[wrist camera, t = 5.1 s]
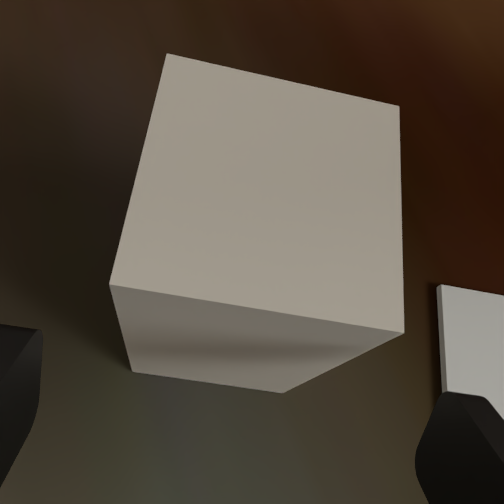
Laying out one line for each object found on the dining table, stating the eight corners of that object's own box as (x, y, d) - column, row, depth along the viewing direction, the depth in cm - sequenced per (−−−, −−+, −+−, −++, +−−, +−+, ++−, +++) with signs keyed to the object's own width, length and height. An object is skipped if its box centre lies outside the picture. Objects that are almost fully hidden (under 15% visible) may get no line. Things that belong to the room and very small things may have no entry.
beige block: (161, 233, 20) (167, 53, 11) (293, 257, 21) (399, 106, 12) (132, 371, 18) (109, 284, 9) (282, 393, 18) (404, 332, 9)
